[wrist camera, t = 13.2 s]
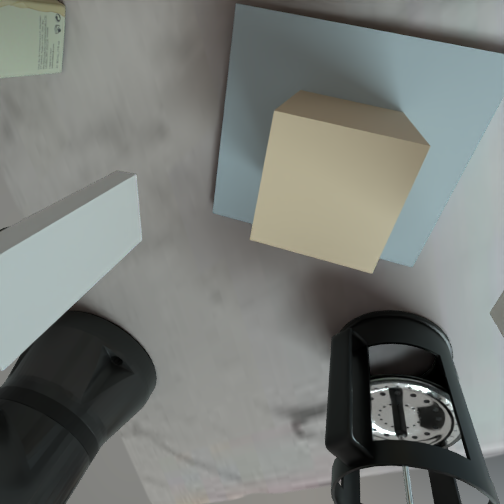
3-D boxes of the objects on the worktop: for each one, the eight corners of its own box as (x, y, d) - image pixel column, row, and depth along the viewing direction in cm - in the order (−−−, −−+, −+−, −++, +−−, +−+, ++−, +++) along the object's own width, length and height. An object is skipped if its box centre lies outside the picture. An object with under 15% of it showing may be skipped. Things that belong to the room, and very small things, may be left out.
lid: (217, 206, 26) (163, 270, 19) (241, 5, 19) (170, -23, 12) (409, 258, 25) (435, 352, 17) (514, 57, 17) (640, 63, 10)
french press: (481, 369, 28) (770, 1079, 9) (384, 404, 33) (431, 904, 14) (389, 276, 25) (507, 963, 6) (300, 329, 30) (215, 804, 11)
